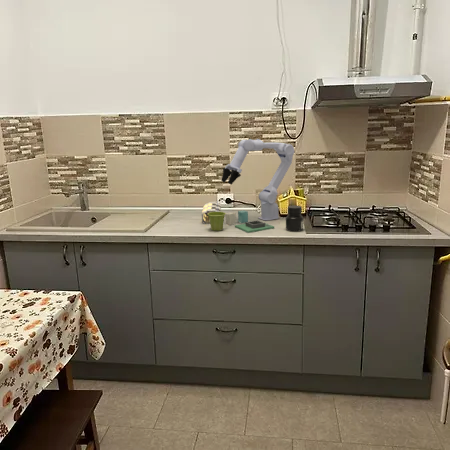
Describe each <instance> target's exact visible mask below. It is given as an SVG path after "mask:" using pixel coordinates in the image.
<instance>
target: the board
mask: <svg viewBox="0 0 450 450" xmlns="http://www.w3.org/2000/svg"><path fill="white" fill-rule="evenodd" d="M234 228H236V229H238V230H240V231H242V232H245V233H247V234H251V233H256V232H262V231H267V230H272V229H273V230H274V229H275V226H274V225H271V224H269V223H266V222H263V221H260V220H258V219H256V220H250V221H248V222H245V223H240V224H234Z"/></svg>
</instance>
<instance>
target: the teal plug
mask: <svg viewBox="0 0 450 450" xmlns="http://www.w3.org/2000/svg"><path fill="white" fill-rule="evenodd" d="M237 221H238V222H239V223H240V224H245V222H249V212H248V210H238V211H237Z"/></svg>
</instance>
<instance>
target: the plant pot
mask: <svg viewBox="0 0 450 450" xmlns="http://www.w3.org/2000/svg"><path fill="white" fill-rule="evenodd" d="M226 213H227V212H223V211H221V212H210V213H208V214H207V216H208V218H209V224H210V230H211V231H214V232H215V231H218V232H219V231H220V232H221V231H222V230H223V229H224V224H225V223H224V221H225V214H226Z"/></svg>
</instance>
